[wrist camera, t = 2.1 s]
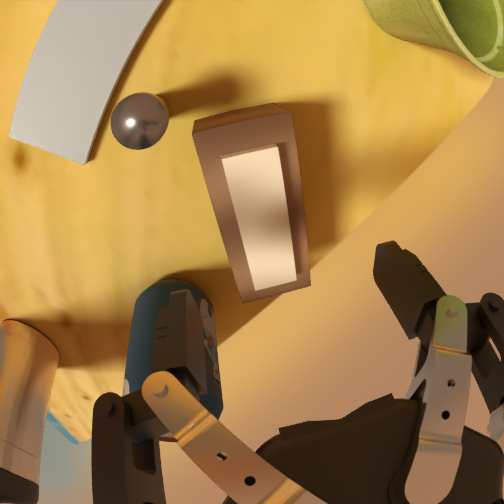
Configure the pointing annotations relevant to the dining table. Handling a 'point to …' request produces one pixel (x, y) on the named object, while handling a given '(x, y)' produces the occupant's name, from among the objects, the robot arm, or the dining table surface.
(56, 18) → the wall strip
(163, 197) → the dining table surface
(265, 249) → the wooden box
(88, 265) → the dining table surface
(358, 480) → the robot arm
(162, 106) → the metal screw
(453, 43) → the plant pot
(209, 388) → the soda can
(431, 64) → the dining table surface
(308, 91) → the dining table surface
